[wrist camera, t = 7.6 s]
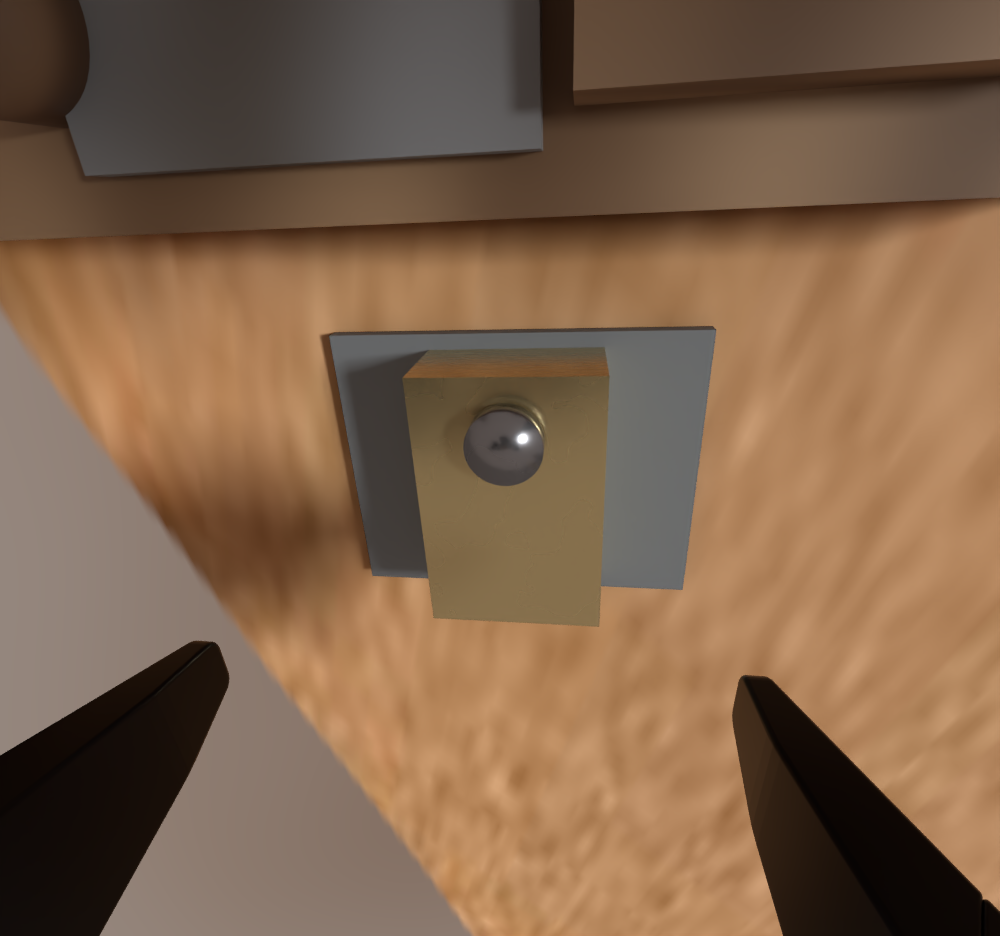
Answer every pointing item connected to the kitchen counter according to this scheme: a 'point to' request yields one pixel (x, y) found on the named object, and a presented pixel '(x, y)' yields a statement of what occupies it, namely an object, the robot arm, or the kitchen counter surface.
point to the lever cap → (511, 481)
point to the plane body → (483, 109)
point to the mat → (629, 456)
